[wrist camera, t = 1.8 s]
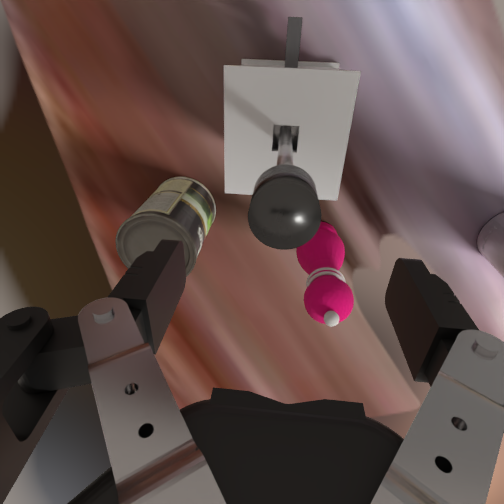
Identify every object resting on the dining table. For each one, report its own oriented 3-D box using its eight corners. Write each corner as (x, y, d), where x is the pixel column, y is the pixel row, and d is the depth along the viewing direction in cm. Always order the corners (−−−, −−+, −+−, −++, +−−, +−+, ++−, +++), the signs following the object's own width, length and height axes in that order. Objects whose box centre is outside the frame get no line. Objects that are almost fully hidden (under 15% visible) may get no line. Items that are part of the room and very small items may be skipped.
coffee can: (225, 192, 51) (207, 235, 39) (204, 243, 56) (182, 294, 45) (163, 164, 50) (123, 200, 38) (147, 219, 55) (108, 266, 43)
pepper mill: (293, 221, 53) (296, 302, 36) (339, 215, 52) (365, 296, 35) (298, 258, 56) (303, 348, 39) (341, 254, 55) (365, 344, 38)
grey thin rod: (334, 84, 32) (399, 130, 14) (321, 172, 37) (356, 295, 18) (245, 80, 33) (191, 118, 14) (243, 167, 37) (200, 282, 19)
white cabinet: (343, 28, 39) (373, 17, 25) (323, 158, 47) (338, 202, 34) (243, 25, 40) (220, 11, 26) (240, 153, 48) (222, 194, 34)
